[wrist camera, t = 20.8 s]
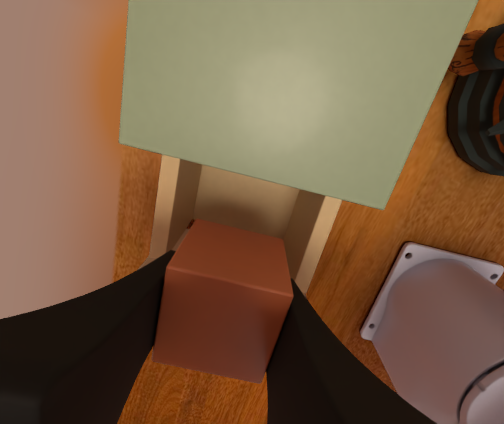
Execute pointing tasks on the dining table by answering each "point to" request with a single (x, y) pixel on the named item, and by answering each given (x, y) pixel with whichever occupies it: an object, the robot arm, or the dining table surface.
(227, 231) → the block
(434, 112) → the dining table surface
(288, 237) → the drawer
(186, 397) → the dining table surface
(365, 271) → the dining table surface
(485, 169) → the mug
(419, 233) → the dining table surface
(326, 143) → the cabinet
